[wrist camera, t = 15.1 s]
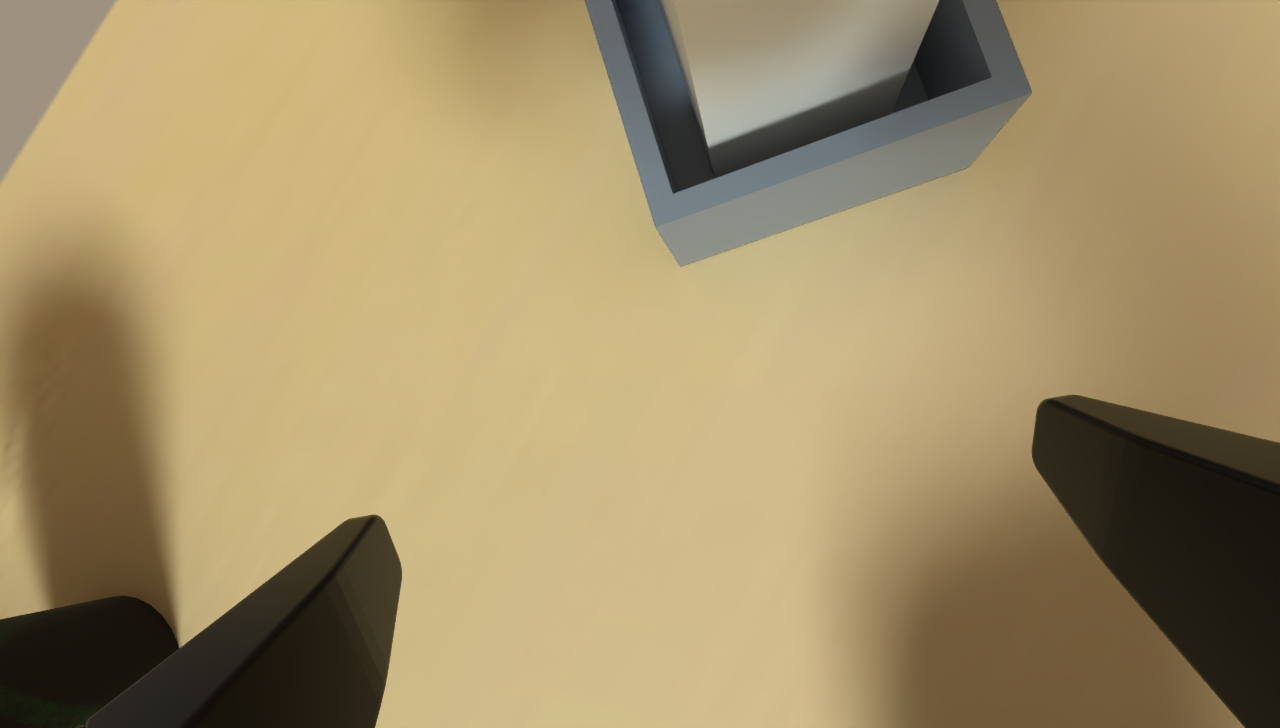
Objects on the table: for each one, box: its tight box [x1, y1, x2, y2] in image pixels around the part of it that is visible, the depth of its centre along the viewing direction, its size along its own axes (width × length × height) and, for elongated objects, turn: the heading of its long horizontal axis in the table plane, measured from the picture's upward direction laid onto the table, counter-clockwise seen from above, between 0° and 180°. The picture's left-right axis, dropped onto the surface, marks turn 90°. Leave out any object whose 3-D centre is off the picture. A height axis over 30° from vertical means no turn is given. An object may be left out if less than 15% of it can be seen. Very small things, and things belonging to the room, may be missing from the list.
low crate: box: [585, 0, 1032, 267], centre depth 19 cm, size 10×10×5 cm
